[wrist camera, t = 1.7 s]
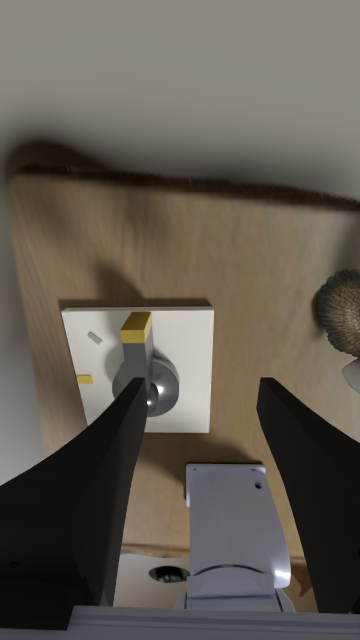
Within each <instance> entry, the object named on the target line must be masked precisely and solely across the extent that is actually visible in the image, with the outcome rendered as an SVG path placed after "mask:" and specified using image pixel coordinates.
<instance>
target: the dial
mask: <svg viewBox="0 0 360 640" xmlns="http://www.w3.org/2000/svg"><path fill="white" fill-rule="evenodd" d="M120 333H121V341H122V346H123V353H124V362H123V363H122V364H121V366H120V367H119V369H118V371H117V373H116V376H115V378H114V380H113V383H112V393H113V396H114V399H116V398H117V396H118V395H119V394H120V393H121V392H122V391H123V389H124V388H125V387H126V386H127V385H128V383H129V382H130V381H131V380H132V379H133V378H134V377H145V380H146V391H147V401H148V412H147V417H156V416H160V415H163V414H165V413H167V412H168V411H170V410H171V409H172V408H173V407H174V406H175V404H176V403H177V401H178V397H179V384H180V380H179V375H178V372H177V370H176V369H175V367H174V366H173V365H172V364H171V363H170V362H169V361H167V360H166V359H164V358H162V357H160V356H157V355H154V344H153V330H152V312H131V314H130V315H129V317H128V318H127V320H126V322H125V323H124V325H123V326H122V328H121V329H120Z"/></svg>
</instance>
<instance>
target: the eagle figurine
mask: <svg viewBox="0 0 360 640" xmlns="http://www.w3.org/2000/svg"><path fill="white" fill-rule="evenodd" d="M317 307H318V309H319V310H318V314H320V315H321V319H322V323H323V324H325V329H326V332H327V333H328V335H327V337H328V341H330V343H331V345H333V346H334V348H335V349H338V350H339V351H340V352H342V351H343V352H345V353H347V354H352V356H354V357H358V358H357V359H356V360H354V361H353V362H351V363H350V364H348V365H346V366H345V367H344V368H343V369H342V373H343V376H344V377H345V379H346V380H347V382H348V384H349V386H350V387H351V388H353V389H354V390H356V391H357V392H358V393H359V394H360V273H359V272H358V271H357V270H352V271H350V270H349V269H347V268H345V269H344V270H343V271H337V272H336V274H335V276H334V277H331V278H329V280H328V286H323V287H322V293H320V294H319V295H318V304H317Z"/></svg>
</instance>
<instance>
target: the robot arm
mask: <svg viewBox="0 0 360 640" xmlns="http://www.w3.org/2000/svg"><path fill="white" fill-rule="evenodd" d="M256 409H257V413H258V417H259V420H260V424H261V428H262V430H263V433H264V435H265V438H266V440H267V443H268V445H269V448H270V450H271V453H272V455H273V457H274V460H275V462H276V465H277V467H278V470H279V472H280V475H281V478H282V480H283V483H284V486H285V489H286V493H287V496H288V499H289V502H290V506H291V509H292V512H293V516H294V519H295V523H296V526H297V530H298V533H299V537H300V541H301V544H302V548H303V552H304V556H305V559H306V563H307V567H308V571H309V575H310V579H311V583H312V587H313V591H314V595H315V599H316V603H317V607H318V611H319V613H298V612H296V611H295V608H294V606H293V604H292V602H291V600H290V599H289V598H288V597H287V595H286V594H285V593H284V591H283V590H282V589H275V588H281V587H287V586H288V585H289V583H290V575H291V571H290V560H289V554H288V549H287V544H286V539H285V535H284V532H283V528H282V525H281V522H280V519H279V516H278V513H277V510H276V506H275V503H274V500H273V497H272V494H271V491H270V488H269V484H268V481H267V478H266V475H265V471H266V469H265V466H264V465H255V464H187V465H186V505H187V506H188V507H190V574H191V576H190V577H187V592H181V593H180V595H179V598H178V599H177V601H176V603H175V605H174V609H173V608H172V609H171V608H142V607H141V608H140V607H113V601H114V594H115V586H116V579H117V571H118V563H119V557H120V550H121V544H122V537H123V530H124V524H125V518H126V511H127V505H128V499H129V493H130V488H131V482H132V477H133V473H134V469H135V465H136V461H137V457H138V453H139V450H140V446H141V442H142V438H143V434H144V430H145V426H146V420H147V412H148V401H147V391H146V380H145V377H134V378H133V379H132V380H131V381H130V382H129V383H128V385H127V386H126V387H125V388H124V389H123V391H122V392H121V393H120V394H119V395H118V396H117V398H116V399H115V400H114V401H113V402H112V403H111V404H110V405H109V406H108V407H107V408H106V409H105V411H104V412H103V413H102V414H101V415H100V416H99V417H98V418H97V419H96V420H94V421H93V422H92V423H91V424H90V425H89V426H88V427H87V428H86V429H84V430H83V431H82V432H81V433H80V434H79V435H77V436H76V437H75V438H74V439H72V440H71V441H70V442H68V443H67V444H66V445H64V446H63V447H62V448H60V449H59V450H58V451H56V452H55V453H53V454H52V455H50V456H49V457H47V458H46V459H44V460H43V461H41V462H40V463H38V464H37V465H35V466H33V467H32V468H31V469H29V470H27V471H25V472H23V473H22V474H20V475H18V476H17V477H15V478H13V479H11V480H10V481H8V482H6V483H4V484H3V485H1V486H0V640H360V443H359V442H357V441H355V440H354V439H352V438H351V437H349V436H348V435H346V434H345V433H343V432H341V431H340V430H338V429H337V428H335V427H334V426H333V425H331V424H330V423H328V422H327V421H325V420H324V419H323V418H321V417H320V416H319V415H317V414H316V413H315V412H313V411H312V410H311V409H310V408H308V407H307V406H306V405H305V404H303V403H302V402H301V401H300V400H299V399H297V398H296V397H295V396H294V395H293V394H292V393H290V392H289V391H288V390H287V389H286V388H285V387H283V386H282V385H281V384H280V383H279V382H278V381H277V380H275V379H274V378H261V380H260V387H259V394H258V401H257V408H256Z"/></svg>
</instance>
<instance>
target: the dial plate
mask: <svg viewBox="0 0 360 640" xmlns="http://www.w3.org/2000/svg"><path fill="white" fill-rule="evenodd" d="M131 312H152V330H153V344H154V355H157V356H160V357H162V358H164V359H166V360H167V361H169V362H170V363H171V364H172V365H173V366H174V367H175V369H176V370H177V372H178V375H179V380H180V384H179V397H178V401H177V403H176V404H175V406H174V407H173V408H172V409H171V410H170V411H168V412H167V413H165V414H163V415H160V416H156V417H147V420H146V426H145V430H144V432H165V433H209V417H210V393H211V370H212V346H213V322H214V309H213V306H204V307H91V308H66V309H64V310H63V311H61V313H62V317H63V321H64V326H65V330H66V334H67V339H68V343H69V347H70V351H71V356H72V360H73V364H74V368H75V373H76V377H77V381H78V386H79V390H80V394H81V398H82V403H83V407H84V411H85V416H86V420H87V424H88V426H89V425H90V424H91V423H92V422H93V421H94V420H96V419H97V418H98V417H99V416H100V415H101V414H102V413H103V412H104V411H105V409H106V408H107V407H108V406H109V405H110V404H111V403H112V402H113V401H114V400H115V399H114V396H113V393H112V383H113V380H114V378H115V376H116V373H117V371H118V369H119V367H120V366H121V364H122V363H123V362H124V353H123V346H122V341H121V333H120V329H121V328H122V326H123V325H124V323H125V322H126V320H127V318H128V317H129V315H130V314H131Z"/></svg>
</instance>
